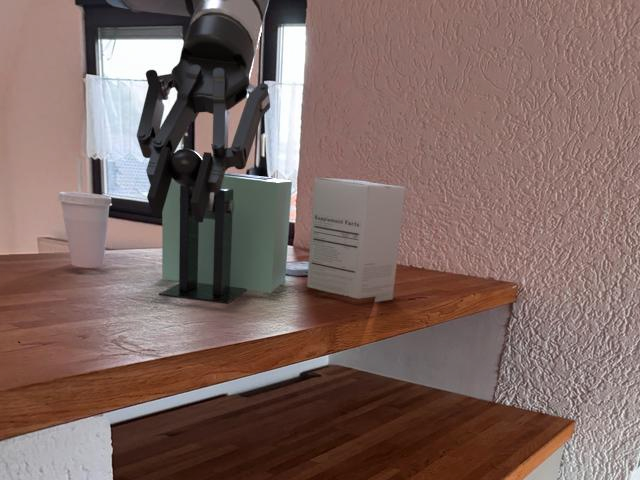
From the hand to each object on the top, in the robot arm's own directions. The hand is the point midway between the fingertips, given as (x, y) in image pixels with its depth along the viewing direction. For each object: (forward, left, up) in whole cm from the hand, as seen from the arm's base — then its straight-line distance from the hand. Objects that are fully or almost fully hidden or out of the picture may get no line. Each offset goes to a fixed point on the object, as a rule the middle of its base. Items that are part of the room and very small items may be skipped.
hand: (175, 209), depth 72 cm
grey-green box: (-11, +20, -11) cm, 25 cm away
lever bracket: (-6, +10, -11) cm, 16 cm away
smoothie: (-26, +9, -11) cm, 30 cm away
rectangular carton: (+1, +31, -11) cm, 33 cm away
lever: (-3, +6, 0) cm, 7 cm away
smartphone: (-16, +43, -11) cm, 48 cm away
